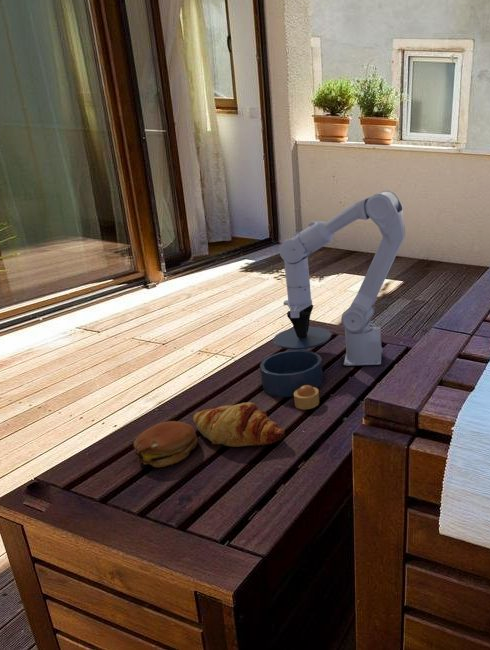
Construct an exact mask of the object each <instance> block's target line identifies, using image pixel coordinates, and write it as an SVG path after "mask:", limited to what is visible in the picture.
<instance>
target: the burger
mask: <svg viewBox="0 0 490 650" xmlns="http://www.w3.org/2000/svg"><path fill="white" fill-rule="evenodd" d="M198 442H199V439H198V435H197V432H196V430H195V429H194V427H193V426H192V425H191V424H189V423H187V422H183V421H178V420H177V421H176V420H170V421H163V422H159V423H156V424H154V425H153V426H151V427H148V428H147V429H145V430H144V431H143V432H141V433H140V434H139V435H138V436H137V437H136V439H135V440H134V442H133V445H132V446H133V448H134V450H136V451H135V456H137V457H138V458H137V462H139V463H142V464H143V465H150V466H151V467H154V468H165V467H170V466H173V465H174V464H177V463H180V462H181V461H183V460H185V458H187V457H188V456H189V455H190V452H192V451H193V450H194V449H195V448H196V446H197V444H198Z"/></svg>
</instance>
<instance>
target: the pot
mask: <svg viewBox="0 0 490 650" xmlns="http://www.w3.org/2000/svg"><path fill="white" fill-rule="evenodd" d="M259 371H260V379H261V385H262V389H263V391H264V392H265V393H266V394H268V395H271V396H273V397H278V398H291V397H294V392H295V391H296V390H297V389H299V388H300V387H301V386H303V385H310V386H312V387H315V388H317V389H318V388H319V387H320V386H321V385H322V384H323V380H324V373H323V372H324V371H323V359H322V357H321V356H320V354H318V353H316V352H314V351H311V350H306V349H290V350H286V351H281V352H277V353H274V354H271V355H269V356H267V357H266V358H264V359H263V360H262V361H261V363H260V365H259Z"/></svg>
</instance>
